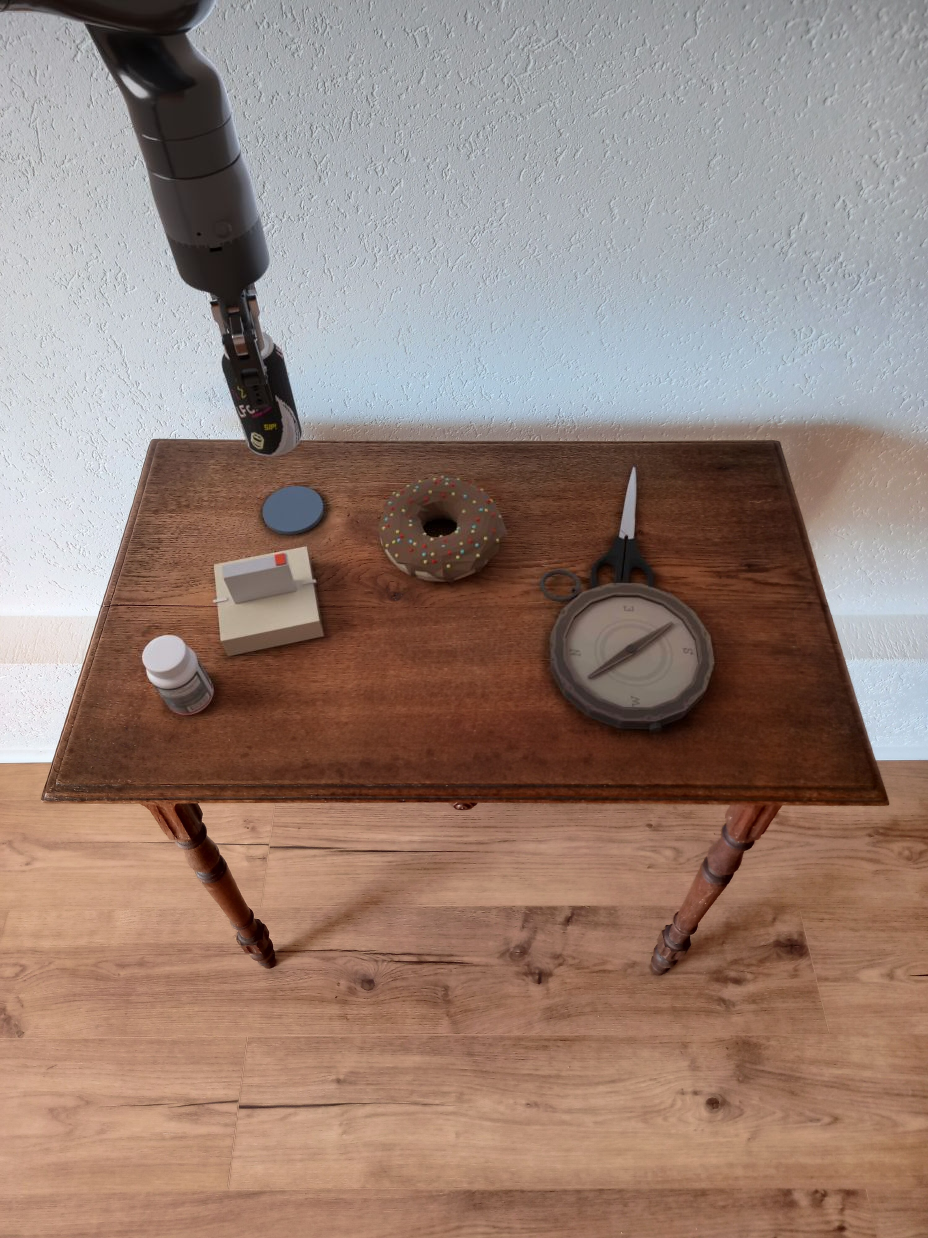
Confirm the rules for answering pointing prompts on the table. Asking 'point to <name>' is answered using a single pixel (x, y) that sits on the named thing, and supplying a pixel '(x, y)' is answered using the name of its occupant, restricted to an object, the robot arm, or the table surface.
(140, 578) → the table surface
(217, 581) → the base
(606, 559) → the scissors
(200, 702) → the pill bottle
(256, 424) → the beverage can
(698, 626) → the compass
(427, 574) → the donut
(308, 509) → the coaster
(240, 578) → the tap handle
